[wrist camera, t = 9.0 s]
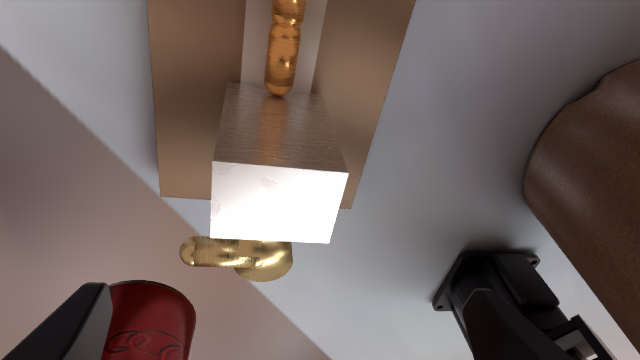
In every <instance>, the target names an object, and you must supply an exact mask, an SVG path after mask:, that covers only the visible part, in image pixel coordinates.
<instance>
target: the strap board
mask: <svg viewBox="0 0 640 360" xmlns="http://www.w3.org/2000/svg"><path fill="white" fill-rule="evenodd" d="M415 2H416V0H307V3H306V9H305V15H304V20H303V23H302V25H301V26H300V30H301V40H300V47H299V53H298V59H297V66H296V72H295V78H294V84H293V87H292V89H291V90H292V91H300V92H307V93H315V94H322V96H323V99H324V101H325V104H326V107H327V110H328V113H329V116H330V119H331V122H332V125H333V128H334V131H335V134H336V137H337V140H338V143H339V146H340V149H341V152H342V155H343V158H344V161H345V163H346V166H347V169H348V172H349V174H348V178H347V181H346V185H345V188H344V192H343V195H342V198H341V202H340V205H339V208H341V209H351V206H352V203H353V199H354V196H355V193H356V190H357V187H358V183H359V180H360V177H361V174H362V171H363V168H364V164H365V161H366V158H367V155H368V152H369V148H370V145H371V142H372V139H373V136H374V132H375V129H376V126H377V123H378V120H379V116H380V113H381V110H382V107H383V104H384V101H385V97H386V94H387V91H388V88H389V85H390V81H391V78H392V75H393V72H394V69H395V65H396V62H397V59H398V56H399V53H400V50H401V46H402V43H403V40H404V37H405V34H406V30H407V27H408V24H409V21H410V18H411V14H412V11H413V8H414V5H415ZM271 7H272V0H147V12H148V26H149V41H150V55H151V70H152V84H153V99H154V113H155V127H156V142H157V156H158V171H159V185H160V197H173V198H188V199H204V200H211V192H212V161H213V156H214V151H215V146H216V140H217V135H218V130H219V125H220V120H221V115H222V109H223V104H224V99H225V94H226V89H227V83H228V82H233V83H241V84H248V85H255V86H263V87H265V85H264V71H265V62H266V53H267V44H268V35H269V28H270V26H271V24H272V23H273V21H272V18H271Z"/></svg>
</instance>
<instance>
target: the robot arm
mask: <svg viewBox="0 0 640 360" xmlns="http://www.w3.org/2000/svg"><path fill="white" fill-rule="evenodd" d="M539 263H540V259H539V258H538V256H537V255H536V254H519V253H495V252H472V251H468V252H464V253H463V254H461V256H460V257H459V259H458V260H457V262H456V264H455V266H454V267H453V269H452V271H451V272H450V274H449V276H448V277H447V279H446V281H445V282H444V284H443V286H442V287H441V289H440V291H439V293H438V294H437V296H436V298H435V299H434V301H433V303H432V306H433V308H434V310H435V311H452V312H453V314H454V316H455V318H456V320H457V323H458V325H459V327H460V329H461V331H462V333H463V335H464V337H465V339H466V341H467V343H468V345H469V348H470V350H471V352H472V354H473V357H474V360H587V359H586V358H587V357H589V356H591V355H593V354H596V355H597V356H598V357H597V358H595V359H593V360H617V359H616V358H615V356H614V355H613V354H612V353H611V351H610V350H609V349H608V348H607V346H606V345H605V344H604V343H603V341H602V340H601V339H600V338H599V337H598V336H597V334H596V333H595V332H594V331H593V330H592V329H591V328H590V327H589V326H588V324H587V323H586V322H585V321H584V320H583V319H582V318H581V317H580V316H579V314H578V315H576V316H574V317H572V318H570V319H571V320H570V321H569V320H568V319H567V318H566V316H565V315H564V314H563V312H562V311H561V310H560V308H559V307H558V305H559V304H560V302H559V300H558V298H557V297H556V296H555V294H554V293H553V292H552V291H551V289H550V288H549V287H548V285H547V284H546V283H545V281H544V280H543V279H542V278H541V276H540V275H539V274H538V272H537V271H536V270H535V268H536V267H537V265H538V264H539ZM112 311H113V305H112V300H111V296H110V291H109V287H108V285H107V284H106V283H92V282H90V283H86V284H84V285H82V286H81V287H80V288H79V289H78V290H77V291H76V292H75V293H74V294H72V295H71V296H70V297H69V298H68V299H67V300H66V301H65V302H64V303H63V304H62V305H61V306H59V307H58V308H57V309H56V310H55V311H54V312H53V313H52V314H51V315H50V316H49V317H48V318H46V319H45V320H44V321H43V322H42V323H41V324H40V325H39V326H38V327H37V328H35V329H34V330H33V331H32V332H31V333H30V334H29V335H28V336H27V337H26V338H25V339H24V340H22V341H21V342H20V343H19V344H18V345H17V346H16V347H15V348H14V349H13V350H11V351H10V352H9V353H8V354H7V355H6V356H5V357H4V358H3V359H2V360H101V356H102V352H103V348H104V344H105V341H106V337H107V333H108V329H109V325H110V321H111V317H112Z"/></svg>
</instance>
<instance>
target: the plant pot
mask: <svg viewBox="0 0 640 360" xmlns="http://www.w3.org/2000/svg"><path fill="white" fill-rule="evenodd" d="M524 195H525V199H526V202H527V204H528V206H529V207H530V209H531V210H532V212H533V213H534V215H535V217H536V218H537V219H538V220H539V222H540V223H541V224H542V225H543V226H544V228H545V229H546V230H547V232H548V233H549V234H550V236H551V237H552V238H553V240H554V241H555V242H556V244H557V245H558V246H559V248H560V249H561V250H562V251H563V253H564V254H565V255H566V257H567V258H568V259H569V261H570V262H571V263H572V265H573V266H574V267H575V269H576V270H577V271H578V273H579V274H580V275H581V277H582V278H583V279H584V281H585V282H586V283H587V285H588V286H589V287H590V289H591V290H592V291H593V293H594V294H595V295H596V297H597V298H598V299H599V301H600V302H601V303H602V305H603V306H604V307H605V309H606V310H607V311H608V313H609V314H610V315H611V316H612V318H613V319H614V320H615V322H616V323H617V325H618V326H619V327H620V329H621V330H622V331H623V333H624V334H625V335H626V337H627V338H628V339H629V341H630V342H631V343H632V345H633V346H634V347H635V349H636V350H637V351H638V353H639V354H640V60H637V61H634V62H631V63H628V64H626V65H624V66H622V67H621V68H619V69H617V70H615V71H613V72H611V73H609V74H607V75H605V76H604V77H603V78H602V79H601V81H600V83H599V85H598V87H597V88H596V89H595V90H594V91H592V92H591V93H589V94H588V95H586V96H584V97H583V98H581V99H579V100H577V101H575V102H572V103H570V104H567V105H566V106H565V107H564V108H563V109H562V110H561V111H560V112H559V113H558V114H557V115H556V117H555V118H554V119H553V121H552V122H551V123H550V124H549V126H548V127H547V128H546V129H545V131H544V132H543V134H542V135H541V137H540V139H539V140H538V142H537V144H536V146H535V147H534V149H533V151H532V154H531V156H530V159H529V161H528V164H527V167H526V171H525V176H524Z"/></svg>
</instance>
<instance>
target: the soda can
mask: <svg viewBox="0 0 640 360" xmlns="http://www.w3.org/2000/svg"><path fill="white" fill-rule="evenodd" d="M108 287H109V291H110V296H111V300H112V305H113V311H112V317H111V321H110V325H109V329H108V333H107V337H106V341H105V344H104V348H103V352H102V356H101V360H190V356H191V350H192V343H193V337H194V331H195V324H196V312H195V310H194V307H193V305H192V304H191V303H190V301H189V300H188V299H187V298H186V297H185V296H184V295H183V294H182V293H181V292H179V291H178V290H176V289H174V288H172V287H170V286H167V285H165V284H162V283H158V282H154V281H145V280H131V281H123V282H118V283H114V284H111V285H109V286H108Z"/></svg>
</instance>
